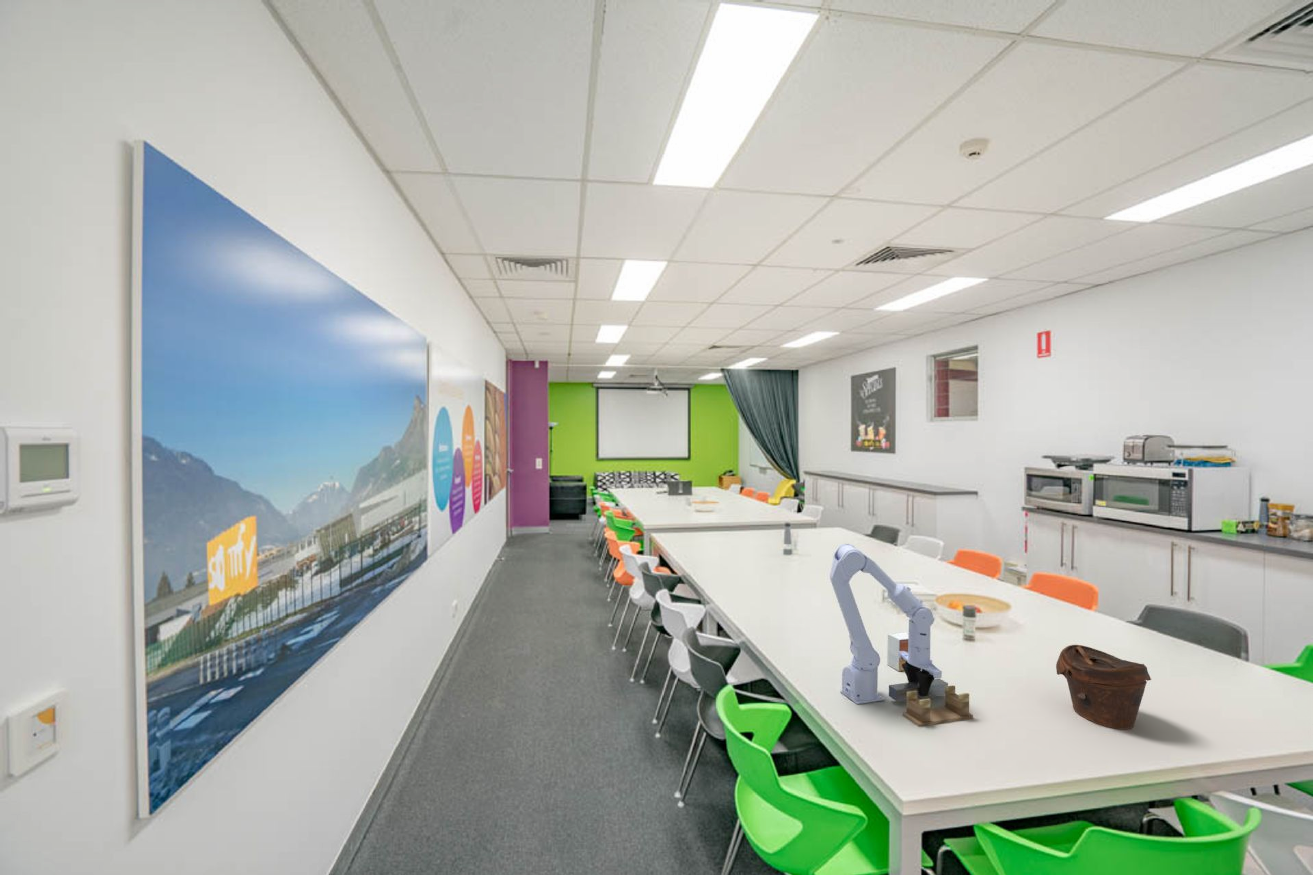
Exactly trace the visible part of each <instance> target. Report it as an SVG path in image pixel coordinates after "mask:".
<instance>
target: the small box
mask: <svg viewBox="0 0 1313 875" xmlns="http://www.w3.org/2000/svg"><path fill="white" fill-rule="evenodd" d="M908 637H909V632H907V631H905V632H902V633H901V632H899V633H888V634H887V654H886V655H887V657H886V658H887V666H889V667H890V668H892V669H894V670H895V671H897V672H903V671H904V669H903V667H902V664H903V663H905V662H906V660H904V659H900V658H898V652H899V651H905V652H907V653H908ZM904 672H905V671H904Z"/></svg>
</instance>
